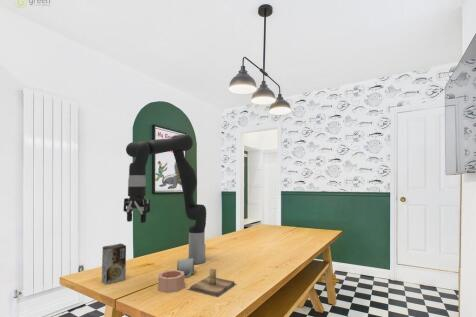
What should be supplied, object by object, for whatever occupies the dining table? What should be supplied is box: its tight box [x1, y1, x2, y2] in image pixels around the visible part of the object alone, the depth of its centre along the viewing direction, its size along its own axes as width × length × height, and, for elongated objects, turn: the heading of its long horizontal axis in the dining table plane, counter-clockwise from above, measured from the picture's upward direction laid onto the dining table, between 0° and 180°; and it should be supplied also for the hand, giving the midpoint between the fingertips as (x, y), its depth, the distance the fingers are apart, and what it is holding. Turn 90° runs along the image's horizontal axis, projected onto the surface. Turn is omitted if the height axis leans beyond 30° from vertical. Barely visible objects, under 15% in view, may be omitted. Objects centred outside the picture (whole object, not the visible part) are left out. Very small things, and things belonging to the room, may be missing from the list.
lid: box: [189, 268, 235, 296], centre depth 119 cm, size 14×14×7 cm
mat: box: [186, 282, 238, 298], centre depth 119 cm, size 16×16×1 cm
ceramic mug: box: [176, 258, 195, 279], centre depth 135 cm, size 11×8×8 cm
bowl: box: [157, 269, 185, 294], centre depth 119 cm, size 11×11×6 cm
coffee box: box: [101, 243, 127, 285], centre depth 129 cm, size 9×6×16 cm
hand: (136, 222), depth 120 cm, fingers open, 8 cm apart
